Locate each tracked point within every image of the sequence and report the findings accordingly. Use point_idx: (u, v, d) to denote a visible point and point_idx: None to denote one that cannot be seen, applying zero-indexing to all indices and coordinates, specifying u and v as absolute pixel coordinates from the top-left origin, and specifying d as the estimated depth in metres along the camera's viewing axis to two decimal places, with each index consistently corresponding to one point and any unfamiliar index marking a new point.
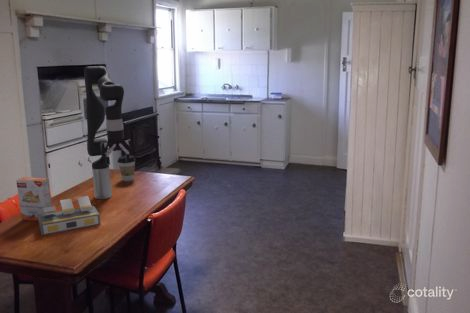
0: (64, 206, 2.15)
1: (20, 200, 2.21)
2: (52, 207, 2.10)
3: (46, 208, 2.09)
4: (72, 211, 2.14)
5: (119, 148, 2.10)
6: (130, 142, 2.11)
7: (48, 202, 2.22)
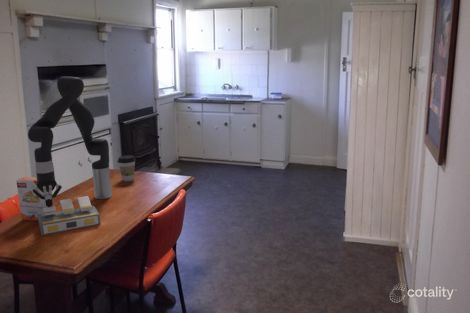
0: (64, 206, 2.15)
1: (20, 200, 2.21)
2: (52, 207, 2.10)
3: (46, 208, 2.09)
4: (72, 211, 2.14)
5: (47, 189, 2.06)
6: (59, 188, 2.09)
7: None
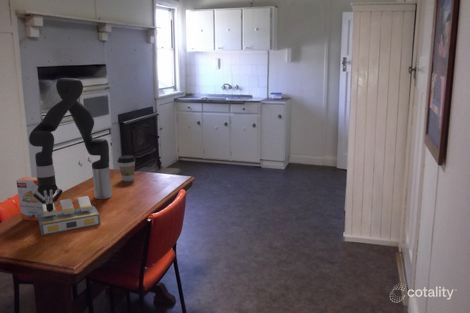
0: (64, 206, 2.15)
1: (20, 200, 2.21)
2: (53, 212, 2.10)
3: (47, 213, 2.09)
4: (72, 211, 2.14)
5: (47, 193, 2.06)
6: (60, 192, 2.09)
7: None
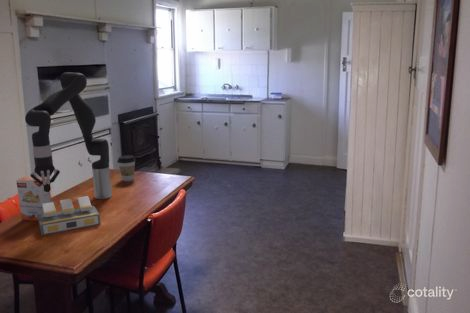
0: (64, 206, 2.15)
1: (20, 200, 2.21)
2: (53, 213, 2.10)
3: (47, 214, 2.09)
4: (72, 211, 2.14)
5: (44, 173, 2.05)
6: (57, 173, 2.07)
7: (48, 202, 2.22)
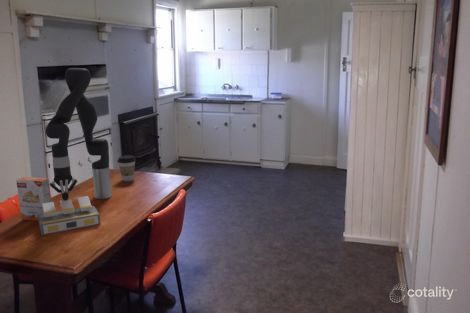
0: (64, 206, 2.15)
1: (20, 200, 2.21)
2: (53, 213, 2.10)
3: (47, 214, 2.09)
4: (72, 211, 2.14)
5: (63, 183, 2.17)
6: (75, 182, 2.19)
7: (48, 202, 2.22)
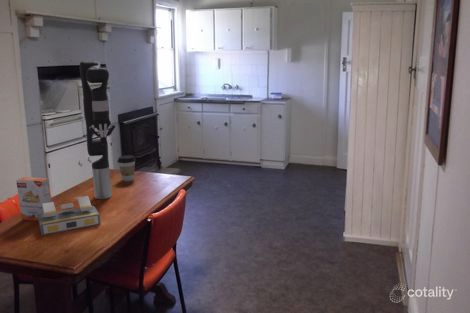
0: None
1: (20, 200, 2.21)
2: (53, 213, 2.10)
3: (47, 214, 2.09)
4: (71, 204, 2.13)
5: (102, 127, 2.23)
6: (113, 127, 2.25)
7: (48, 202, 2.22)
